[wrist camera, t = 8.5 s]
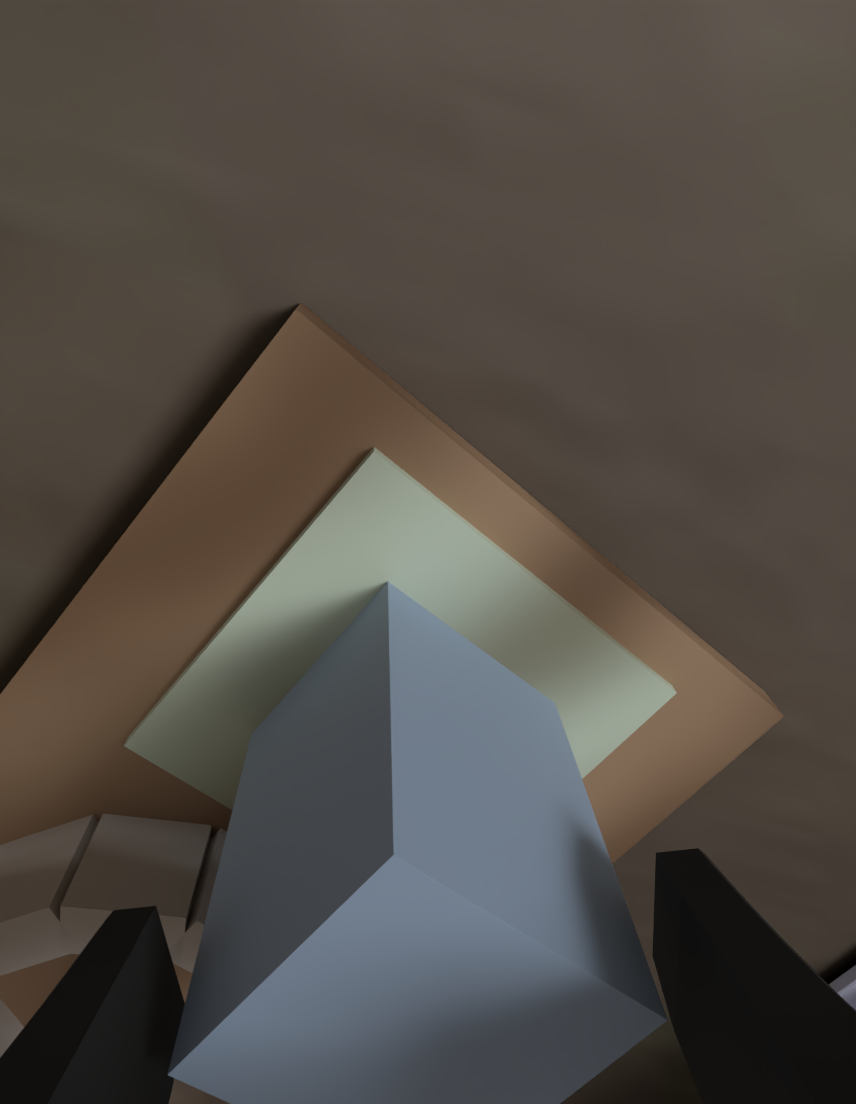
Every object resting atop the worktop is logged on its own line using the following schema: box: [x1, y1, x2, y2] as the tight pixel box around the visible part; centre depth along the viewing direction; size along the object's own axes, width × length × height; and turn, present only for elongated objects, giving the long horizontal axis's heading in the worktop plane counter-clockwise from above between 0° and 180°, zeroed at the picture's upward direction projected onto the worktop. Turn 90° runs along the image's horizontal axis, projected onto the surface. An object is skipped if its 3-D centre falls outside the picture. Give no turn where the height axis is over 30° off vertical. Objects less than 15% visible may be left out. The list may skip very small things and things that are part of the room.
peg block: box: [168, 582, 667, 1104], centre depth 13 cm, size 4×4×7 cm
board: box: [0, 303, 784, 1104], centre depth 17 cm, size 13×20×4 cm, turn 139°
